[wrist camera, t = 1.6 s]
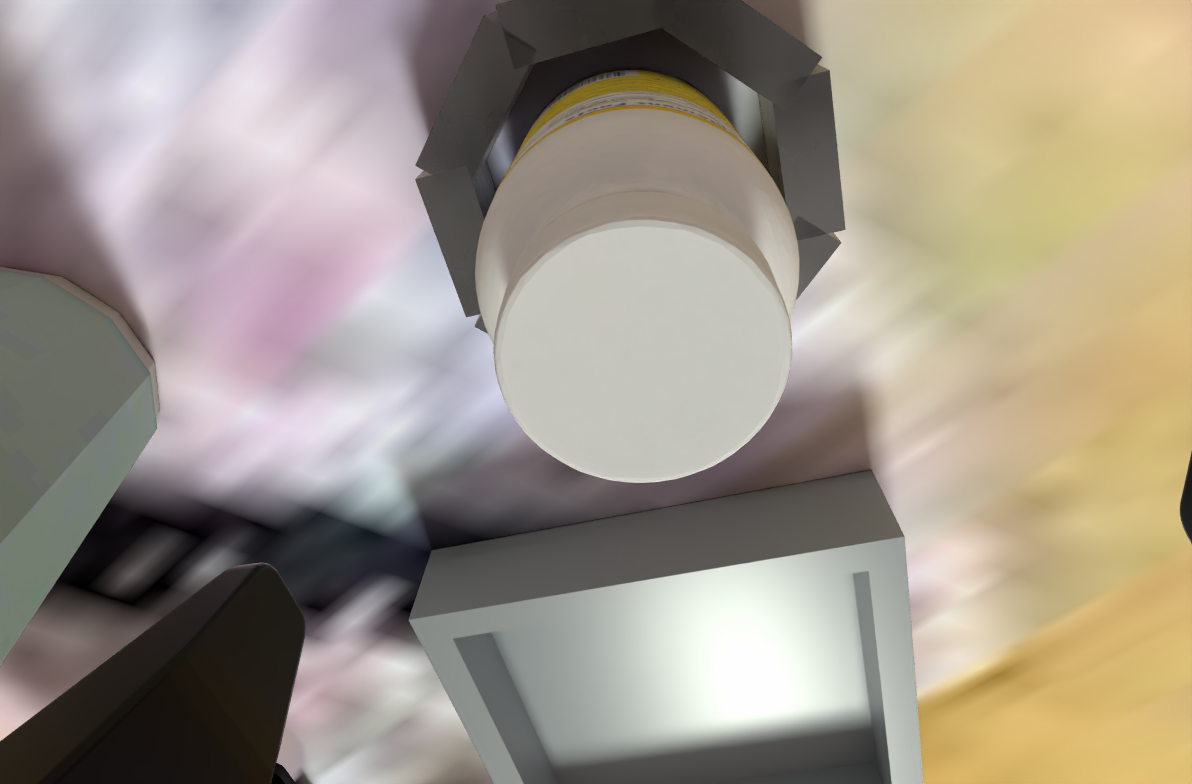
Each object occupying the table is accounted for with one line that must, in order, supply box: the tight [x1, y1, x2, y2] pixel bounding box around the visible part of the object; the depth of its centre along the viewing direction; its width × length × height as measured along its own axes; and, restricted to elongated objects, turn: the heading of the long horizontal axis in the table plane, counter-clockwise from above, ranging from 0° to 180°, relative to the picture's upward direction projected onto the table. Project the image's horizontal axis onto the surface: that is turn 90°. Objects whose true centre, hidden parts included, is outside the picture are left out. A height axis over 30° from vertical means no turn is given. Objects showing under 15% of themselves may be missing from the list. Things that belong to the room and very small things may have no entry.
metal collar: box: [415, 0, 845, 333], centre depth 18 cm, size 9×9×2 cm
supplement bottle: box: [475, 67, 799, 483], centre depth 14 cm, size 5×5×10 cm
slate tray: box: [409, 470, 923, 784], centre depth 25 cm, size 14×14×3 cm
